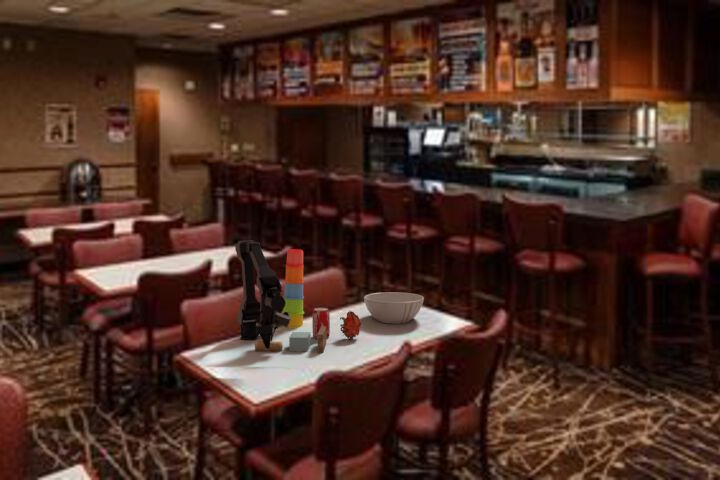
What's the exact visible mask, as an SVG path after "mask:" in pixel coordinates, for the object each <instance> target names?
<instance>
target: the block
mask: <svg viewBox="0 0 720 480" xmlns="http://www.w3.org/2000/svg"><path fill="white" fill-rule="evenodd" d="M288 341H289V345H288V347H289V352H309V349H310V348H311V331H310V332H308V331H293V332H292V333H291V334H290V336H289V340H288Z"/></svg>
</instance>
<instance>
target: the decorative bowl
mask: <svg viewBox="0 0 720 480" xmlns="http://www.w3.org/2000/svg"><path fill="white" fill-rule="evenodd" d="M424 300H425V297H424V296H423V295H420V294H417V293H409V292H396V291H394V292H393V291H392V292H375V293H369V294H366V295H365V296H363V301H364V304H365V307H366V309H367V311H368V312H369V313H370V315H371V316H372V317H373V318H374V319H376V321H378V322H380V323H384V324H390V323H392V324H394V325H396V324H404V323H408V322H410V321H412V320H413V319H414V318H415V317H416V316H417V315H418V314H419V313H420V310H421V308H422V306H423V304H424V302H425V301H424Z"/></svg>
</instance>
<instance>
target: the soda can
mask: <svg viewBox="0 0 720 480" xmlns="http://www.w3.org/2000/svg"><path fill="white" fill-rule="evenodd" d="M330 316H331V315H330V311H329V308H327V307H315V308H314V309H313V311H312V319H311V320H312V321H311V322H312V324H311V325H312V337H313V338H315V339H317V340H318V332H319V330H320V328H321V326H326V339H328V338H329V337H330V333H331V332H330V331H331V329H330V328H331V319H330V318H331V317H330Z"/></svg>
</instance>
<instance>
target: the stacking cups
mask: <svg viewBox="0 0 720 480" xmlns="http://www.w3.org/2000/svg"><path fill="white" fill-rule="evenodd" d="M304 268H305V265H304V251H303V249H297V248H294V249H293V248H290V249H287V253H286V264H285V279H284V280H283V282H284V294H283V296H282V297H283V298H284V299H285V307H284V308H283V309H282V310H281V313H282V314H283V313H284V312H285V311H286V312H289V316H291V320H290V323H289V325H288V327H287V328H288V329H289V328H290V329H291V328H292V329H295V328H301V327H303V325H304V314H305V311H304V299H305V296H304V283H305V281H304ZM283 327H284V328H286V327H285V326H283Z"/></svg>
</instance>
